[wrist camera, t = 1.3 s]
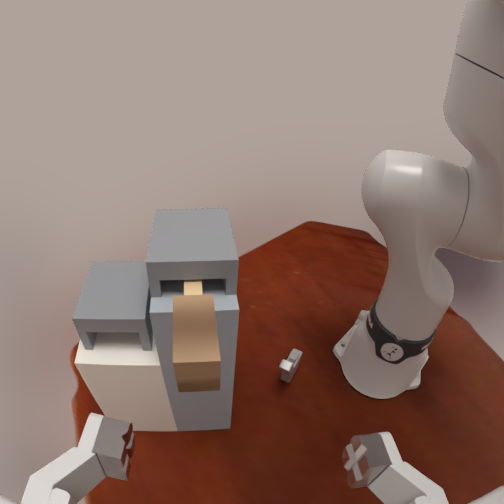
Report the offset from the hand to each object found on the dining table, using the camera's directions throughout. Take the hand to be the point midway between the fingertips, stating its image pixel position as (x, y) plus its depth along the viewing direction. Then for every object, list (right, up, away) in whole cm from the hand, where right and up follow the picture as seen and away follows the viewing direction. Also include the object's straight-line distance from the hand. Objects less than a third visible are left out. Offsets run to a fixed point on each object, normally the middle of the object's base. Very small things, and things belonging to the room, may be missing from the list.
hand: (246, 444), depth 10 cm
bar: (-5, +2, +18) cm, 19 cm away
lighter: (+6, -15, +41) cm, 45 cm away
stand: (-13, -17, +36) cm, 42 cm away
